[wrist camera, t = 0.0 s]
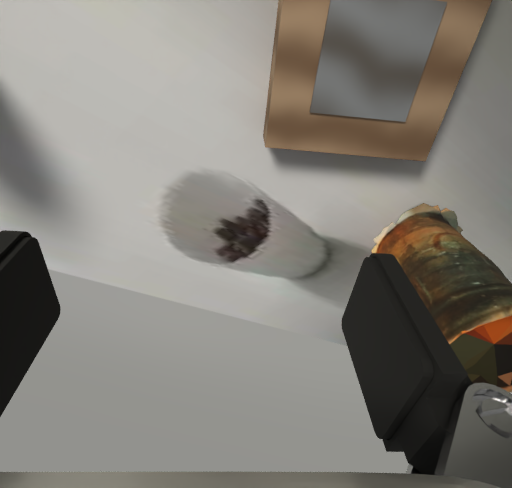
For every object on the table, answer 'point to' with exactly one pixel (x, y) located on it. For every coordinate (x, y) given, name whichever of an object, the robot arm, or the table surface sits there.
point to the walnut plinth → (367, 73)
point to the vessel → (456, 290)
